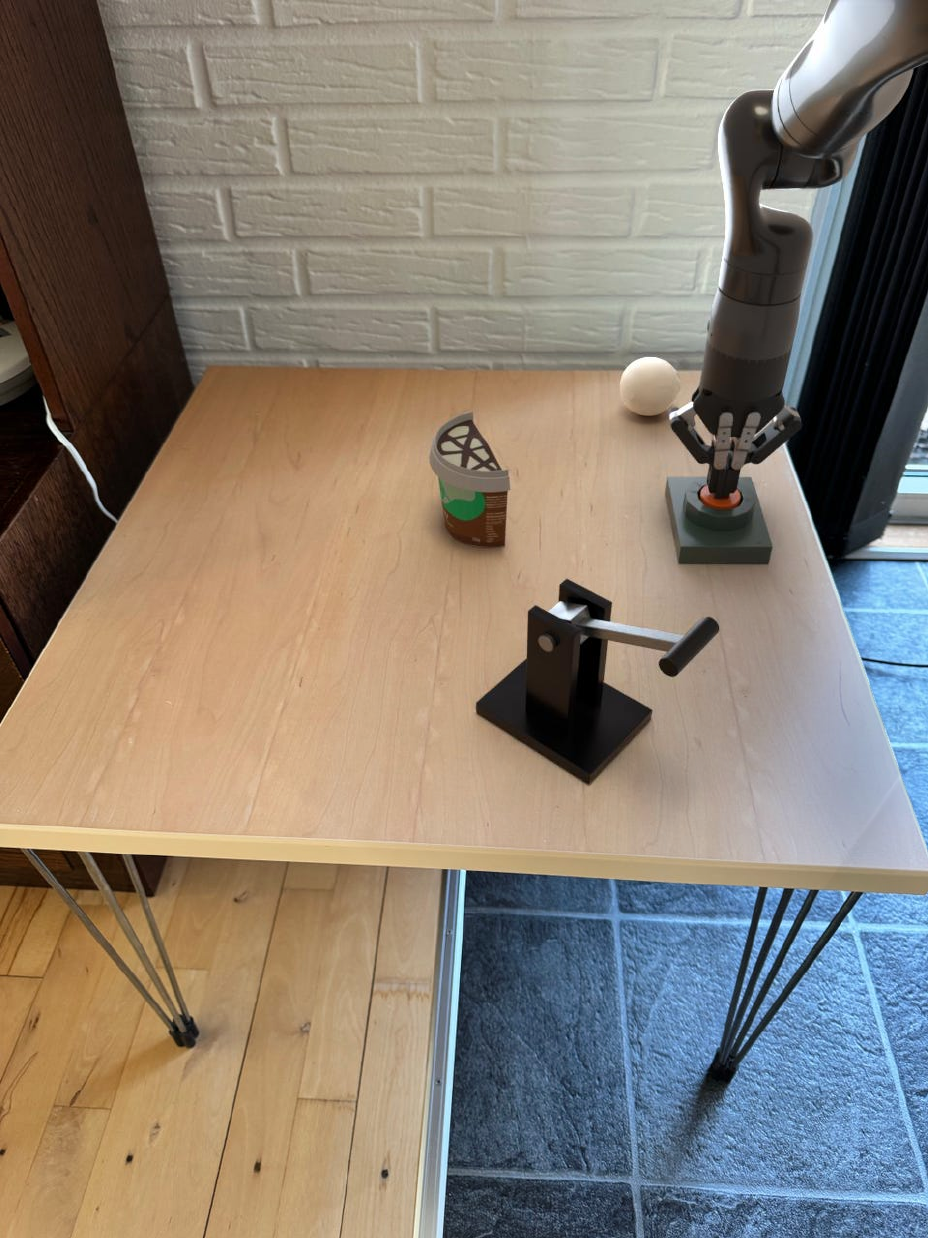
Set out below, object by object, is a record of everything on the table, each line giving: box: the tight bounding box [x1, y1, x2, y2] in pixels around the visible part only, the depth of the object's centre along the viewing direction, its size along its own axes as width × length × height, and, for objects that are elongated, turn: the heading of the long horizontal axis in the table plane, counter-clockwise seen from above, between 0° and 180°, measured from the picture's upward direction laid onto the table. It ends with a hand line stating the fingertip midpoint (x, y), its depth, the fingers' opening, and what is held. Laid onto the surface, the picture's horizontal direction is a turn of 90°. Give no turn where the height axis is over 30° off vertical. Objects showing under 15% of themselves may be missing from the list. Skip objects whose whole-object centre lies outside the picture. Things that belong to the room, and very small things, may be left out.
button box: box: [664, 476, 774, 565], centre depth 100 cm, size 12×9×4 cm
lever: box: [547, 601, 720, 678], centre depth 71 cm, size 13×6×2 cm, turn 49°
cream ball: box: [619, 356, 682, 417], centre depth 116 cm, size 7×7×7 cm
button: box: [699, 485, 741, 510], centre depth 99 cm, size 4×4×2 cm
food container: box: [428, 410, 511, 548], centre depth 99 cm, size 12×6×10 cm, turn 17°
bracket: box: [475, 578, 653, 785], centre depth 78 cm, size 12×9×13 cm
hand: (720, 493), depth 98 cm, fingers closed
